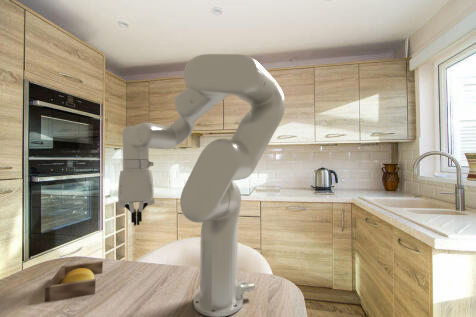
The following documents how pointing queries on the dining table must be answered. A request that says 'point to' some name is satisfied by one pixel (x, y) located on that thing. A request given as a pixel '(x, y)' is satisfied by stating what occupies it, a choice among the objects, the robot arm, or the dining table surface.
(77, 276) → the bread roll
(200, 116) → the robot arm
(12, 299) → the dining table surface
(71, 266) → the brown u-shaped frame
